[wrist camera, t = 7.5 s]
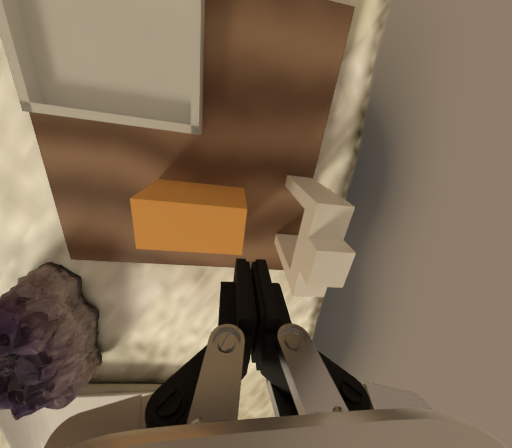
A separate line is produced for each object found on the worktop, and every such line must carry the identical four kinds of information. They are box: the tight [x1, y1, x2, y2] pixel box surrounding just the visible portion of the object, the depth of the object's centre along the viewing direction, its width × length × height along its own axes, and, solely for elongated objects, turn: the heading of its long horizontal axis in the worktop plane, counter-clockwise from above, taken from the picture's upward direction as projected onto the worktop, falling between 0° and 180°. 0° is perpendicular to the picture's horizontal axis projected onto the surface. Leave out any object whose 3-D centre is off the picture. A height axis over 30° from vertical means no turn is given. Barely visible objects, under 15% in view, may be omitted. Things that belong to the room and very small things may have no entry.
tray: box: [0, 0, 205, 135], centre depth 16 cm, size 11×14×2 cm
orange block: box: [130, 179, 247, 255], centre depth 20 cm, size 4×9×6 cm, turn 83°
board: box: [29, 0, 355, 270], centre depth 21 cm, size 27×27×1 cm
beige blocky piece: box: [274, 175, 356, 297], centre depth 19 cm, size 8×3×11 cm, turn 172°
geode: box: [0, 262, 102, 420], centre depth 26 cm, size 20×12×10 cm, turn 168°
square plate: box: [0, 384, 162, 448], centre depth 39 cm, size 27×27×4 cm
